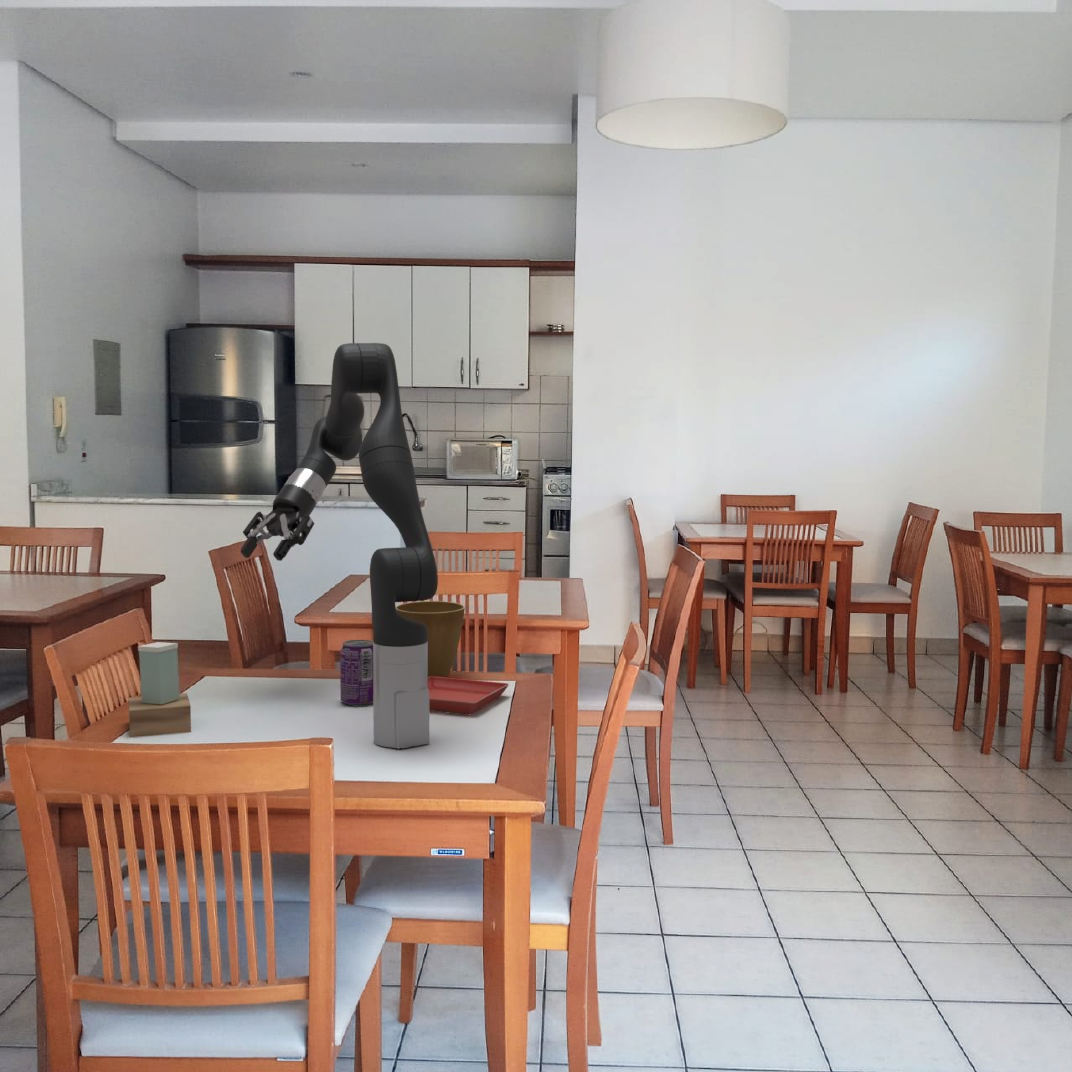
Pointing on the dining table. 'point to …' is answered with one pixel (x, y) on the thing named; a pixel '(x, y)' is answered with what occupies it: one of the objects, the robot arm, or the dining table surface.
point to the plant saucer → (462, 694)
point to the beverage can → (356, 672)
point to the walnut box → (159, 717)
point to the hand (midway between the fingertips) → (260, 556)
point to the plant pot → (437, 631)
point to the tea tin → (159, 672)
